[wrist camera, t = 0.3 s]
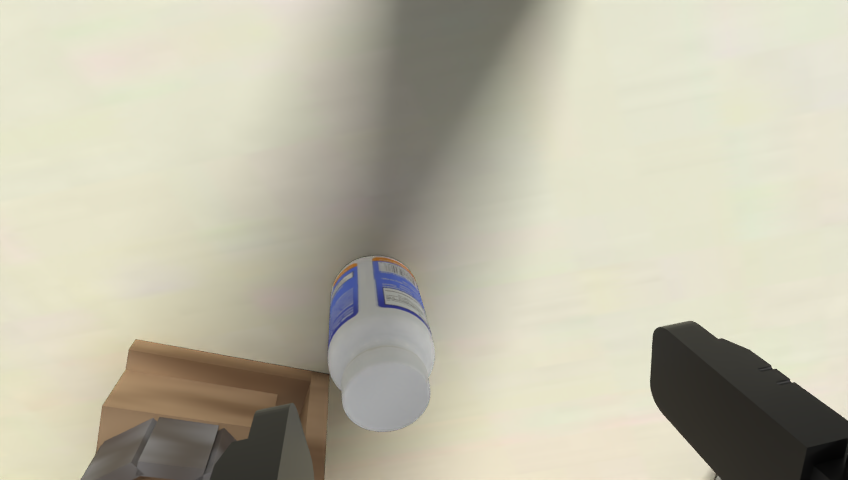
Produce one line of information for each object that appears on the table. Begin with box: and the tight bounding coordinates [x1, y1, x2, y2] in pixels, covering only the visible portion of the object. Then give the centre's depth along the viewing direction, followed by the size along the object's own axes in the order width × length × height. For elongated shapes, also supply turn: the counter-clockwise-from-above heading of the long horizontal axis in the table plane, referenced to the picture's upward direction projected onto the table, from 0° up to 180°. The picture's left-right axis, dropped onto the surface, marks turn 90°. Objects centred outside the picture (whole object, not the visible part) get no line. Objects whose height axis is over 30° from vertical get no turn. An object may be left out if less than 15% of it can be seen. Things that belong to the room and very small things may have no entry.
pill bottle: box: [328, 256, 435, 432], centre depth 25 cm, size 5×5×10 cm
